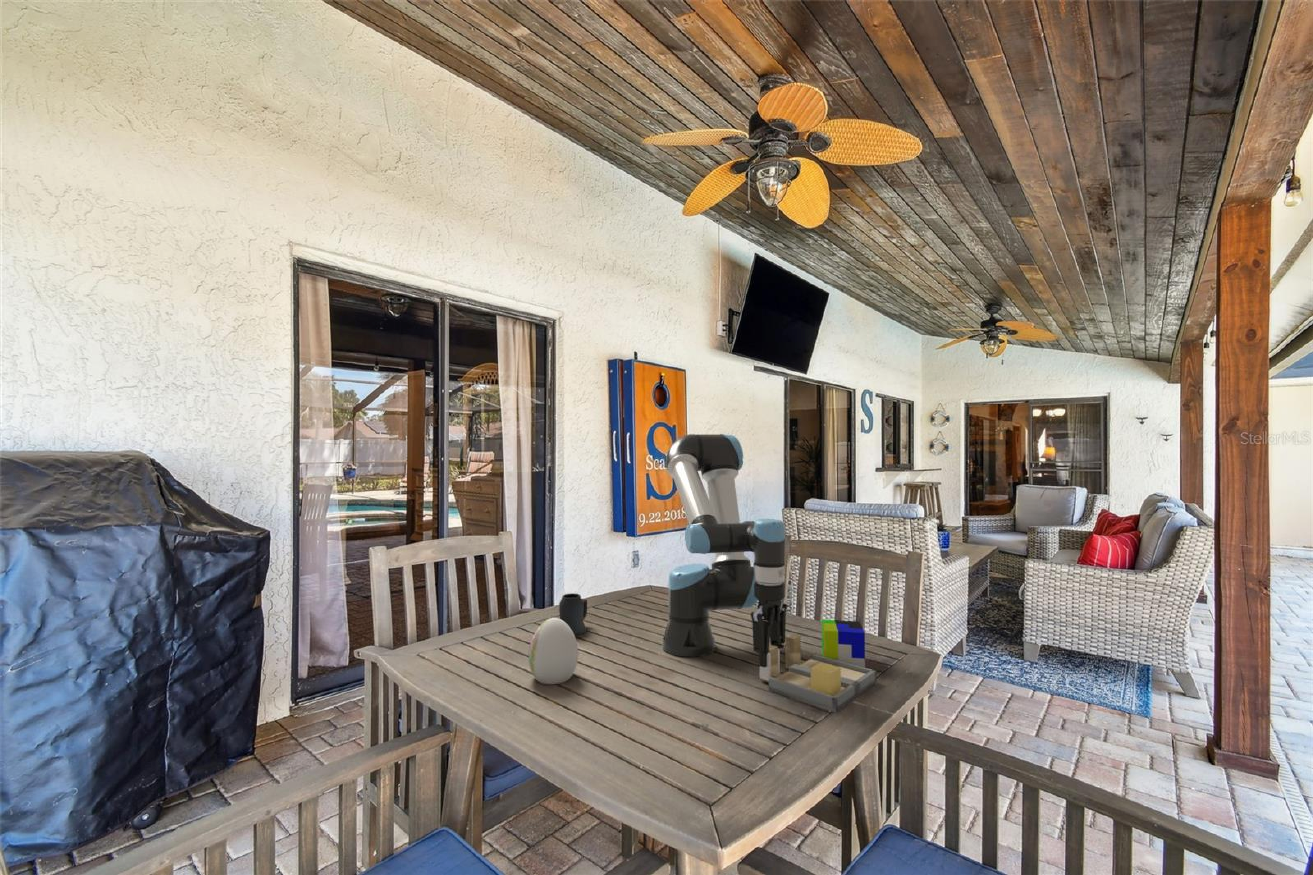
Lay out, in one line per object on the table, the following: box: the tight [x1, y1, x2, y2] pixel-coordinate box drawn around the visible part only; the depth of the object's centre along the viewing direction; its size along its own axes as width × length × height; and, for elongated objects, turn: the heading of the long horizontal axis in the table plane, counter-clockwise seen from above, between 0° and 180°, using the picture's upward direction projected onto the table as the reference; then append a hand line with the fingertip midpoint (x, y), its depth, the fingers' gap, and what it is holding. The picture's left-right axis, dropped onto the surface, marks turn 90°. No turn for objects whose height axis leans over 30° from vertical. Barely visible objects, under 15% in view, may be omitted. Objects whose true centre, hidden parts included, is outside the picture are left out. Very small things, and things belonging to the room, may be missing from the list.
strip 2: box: [761, 643, 845, 696], centre depth 141 cm, size 19×8×8 cm, turn 47°
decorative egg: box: [528, 617, 579, 685], centre depth 148 cm, size 12×12×15 cm
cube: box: [811, 662, 841, 695], centre depth 136 cm, size 5×5×5 cm
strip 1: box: [784, 633, 832, 669], centre depth 152 cm, size 10×8×8 cm
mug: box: [558, 592, 588, 637], centre depth 187 cm, size 12×9×11 cm
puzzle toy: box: [821, 619, 866, 668], centre depth 159 cm, size 10×10×10 cm
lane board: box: [768, 653, 877, 713], centre depth 143 cm, size 17×22×3 cm
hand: (769, 676), depth 147 cm, fingers closed on strip 2, 3 cm apart
